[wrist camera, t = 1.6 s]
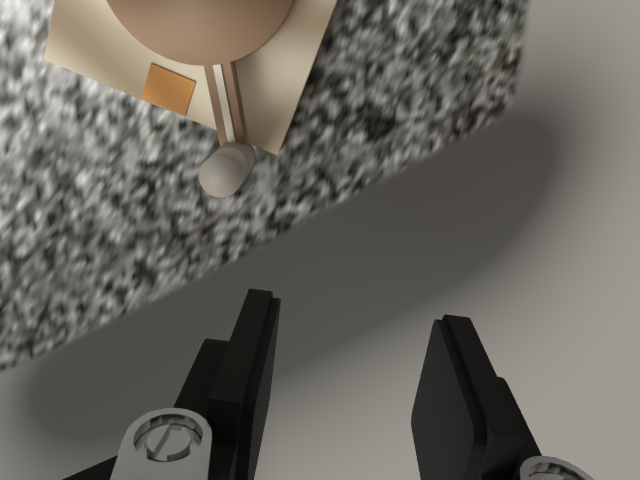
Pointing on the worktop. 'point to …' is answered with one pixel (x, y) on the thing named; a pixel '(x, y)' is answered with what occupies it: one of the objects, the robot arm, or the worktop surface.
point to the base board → (193, 66)
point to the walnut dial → (210, 63)
